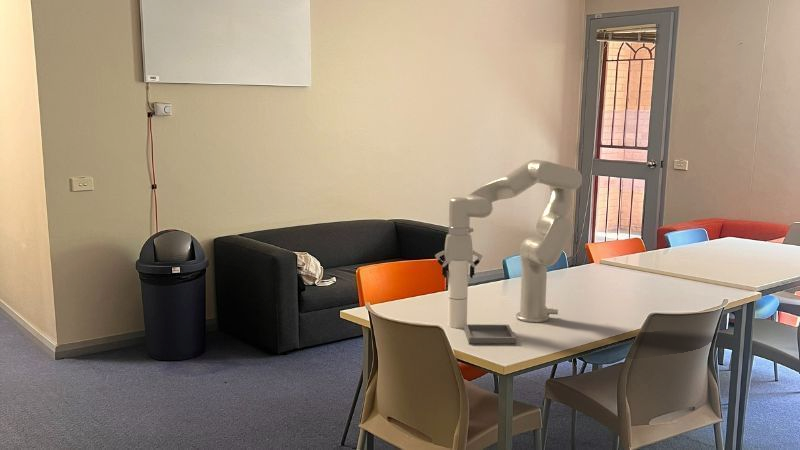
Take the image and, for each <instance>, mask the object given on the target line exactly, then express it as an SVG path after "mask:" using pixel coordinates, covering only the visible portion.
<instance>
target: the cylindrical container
mask: <svg viewBox="0 0 800 450" xmlns="http://www.w3.org/2000/svg"><path fill="white" fill-rule="evenodd" d="M447 281H448V284H447V286H448V288H447V289H448V292H447V295H448V296H447V326H448V327H450V328H453V329H463V328H464V329H465V324H468V297H469V296H468V292H469V291H468V288H469V286H468V285H469V262H467V261H451V262H449V263H448V279H447Z"/></svg>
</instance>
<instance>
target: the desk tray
mask: <svg viewBox="0 0 800 450" xmlns="http://www.w3.org/2000/svg"><path fill="white" fill-rule="evenodd" d="M464 334H465V336H466V339H467V341H468V342H467V343H468V345H474V346H475V345H489V346H490V345H496V346H497V345H498V346H499V345H503V346H504V345H505V346H506V345H508V346H509V345H510V346H511V345H512V346H513V345H517V337H516V335H515V334H514V331H513V330H512V328H511V326H510V325H509V324H469V323H467V324H465V327H464Z"/></svg>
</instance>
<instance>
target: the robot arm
mask: <svg viewBox="0 0 800 450" xmlns="http://www.w3.org/2000/svg"><path fill="white" fill-rule="evenodd" d="M582 183H583V175H582V174H581V172H580V171H579V170H578V169H577V168H576V167H570V166H565V165H562V164H558V163H555V162H551V161H548V160H543V159H542V160H540V159H531V160H529V161H526V162H525V163H524V164H522V165H521V166H518V167H517V168H516V169H514V170H513V171H511V172H509V173H507V174H506V175H504V176H503V177H501V178H498V179H496V180H493V181H491V182H489V183H487V184H484V185H481V186H480V187H478V188H476V189H474V191H472V192H470V193H469V194H467V195H466V196H465V197H462V196H461V197H458V196H457V197H452V198H450V199H449V202H448V203H449V205H448V207H449V208H448V209H449V210H448V233H447V234H446V237H445V241H444V250H442V251H439V252H438V253H436V254H434V257H435V259H436V261H437V262H438V264H439V265H440V266H441V267H442V268H441V275H442V276H443V277H444V279H447V269H448V268H447V265H449V262H451V261H467V262H468V264H470V266H469V278H471V279H473V278H474V277H473V276H475V268H476V266H477V265H478V264H479V263H480V261H481V260H482V258H483V255H482V254H481V253H479V252H477V251H475V250H474V248H473V237H472V235H471V234H470V233H474V228H471V227H470V225H471V224H470V222H471V220H470V219H471V218H477V219H478V218H479V219H484V218H485V219H486V218H487V217H488V216H489V217H490V215H491V214H492V212H493V210H494V207H493V203H494V202H496V201H497V202H498V201H500V200H509V199H512V198H515V197H517V196H519V195H520V194H522V193H524V192H525V191H527V190H528V189H530V188H531V187H533V186H535V185H536V184H542V185H546V186H548V188H549V198H548V201H547V203H546V205H545V207H544V208H543V210H542V212H541V213H540V216H539V217H538V219H537V222H536V225H535V229H536V232H538V234H539V235H540V236H543V238H541V237H538V236H528V237H527V238H525V239H523V241H522V242H521V243H520V247H519V256H520V261H521V262H520V263H521V275H520V276H521V277H520V278H521V279H520V280H521V281H520V304H519V305H520V309H519V310H520V311H518V312H517V313H516V314H515V318H517V320H520V321H522V322H528V323H544V322H547V321H549V320H550V315H558V314H559V310H558V309H557V308H556V309H554V308H548V307H547V306H546V302H547V301H546V300H547V281H548V280H547V279H548V276H547V275H548V274H547V272H548V270H547V267H552V266H553V265H555V264H556V263H557V262H558V261H559V259H560V258H561V255H562V254H563V251H564V250H565V249H566V246H567V244H568V243H569V240H571V237H572V234H573V227H574V226H573V223H572V221H571V219H570V218H569V217H568V216H567V215H568V213H569V211H570V208H571V206H572V201H573V197H572V192H573V191H575V190H577V189H579V188H580V187H581V186H582ZM442 256H444V260H442V259H441V258H440V257H442ZM473 256H475V257H476V259H475V260H474V259H473ZM473 260H474V261H473Z"/></svg>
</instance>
